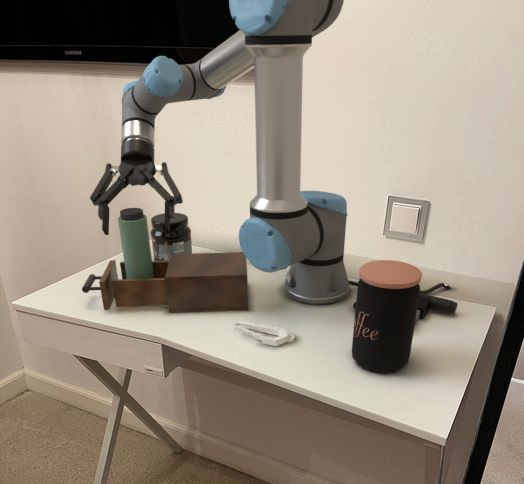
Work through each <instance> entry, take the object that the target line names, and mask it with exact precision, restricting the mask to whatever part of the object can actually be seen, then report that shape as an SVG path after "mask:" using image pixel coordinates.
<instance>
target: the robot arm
mask: <svg viewBox="0 0 524 484" xmlns="http://www.w3.org/2000/svg"><path fill="white" fill-rule="evenodd" d="M344 1H345V0H228V5H229V12H230V16H231V19H232V20H233V21H235V23H234V24H235V26H236V27H237V29H239V30H238V31H236V32H235V33H234V34H233V35H231V36H230V37H228V38H227V39H226V40H225V41H223V42H222V43H221V44H219V45H217V47H215V48H214V49H212V50H211V51H209V52H208V53H207V54H206V55H204V56H203V57H202V58H200V59H199V60H198V61H196V62H194V63H186V64H178V63H177V62H176V61H175V60H174V59H173V58H168V57H167V56H166V55H158V56H156V57H155V58H154V59H152V61H151V62H150V63H149V64H148V65H147V66H146V67H145V69H144V71H143V72H142V74H141V76H140V77H139V78H138V80H133V81H131V82H128V83H127V84H125V86H124V87H123V89H122V96H121V134H120V135H121V136H120V137H121V138H120V144H121V146H120V163H119V165H118V166H117V165H112V164H111V163H109V162H107V163H106V165H105V170H104V173H103V174H102V176H101V178H100V180H99V181H98V183H97V185H96V186H95V188H94V190H93V191H92V193H91V195H90V196H89V199H90V201H91V203H92V205H93V206H97V207H98V209H97V215H98V218H99V220H100V221H102V223H101V230H102V232H103V234H104V235H105V236H109V234H110V233H109V232H110V207H109V204H111V202H112V201H113V200H114V199H115V198H117V196H118V195H119V194H120V193H122V191H123V190H124V189H127V187H128V186H129V185H130V186H131V187H135V186H146V185H147V184H148V185H149V186H150V187H151V189H153V190H154V191H155V192H156V193H157V194H158V195H159V196H160V197H161V198H162V199H163V200H164V213H165V231H166V234H170V218H174V216H175V213H176V212H175V207H176V206H177V205H178V204H179V205H181V204H182V203H184V201H183V196H182V194H181V192H180V190H179V189H178V186H177V185H176V183H175V181H174V179H173V178H172V176H171V174H170V172H169V168H168V163H167V162H165V161H164V162H162V163H161V164H159V165H155V145H156V144H155V141H156V137H155V136H156V135H155V134H156V133H155V132H156V130H155V127H156V126H155V125H156V117H157V116H158V115H159V114H160V113H161V112H162V110H164V108H165V107H166V106H167V105H168V104H173V103H180V102H189V101H198V100H211V99H214V98H217V97H218V98H219V97H220V96H222V95H223V94H224V93H225V90H226V89H227V86H228V85H230V84H231V83H233V82H234V81H236V80H237V79H239V78H241V77H243V76H244V75H246V74H248V73H249V72H250V71H252V70H253V72H254V73H253V75H254V76H253V77H254V117H255V118H254V120H255V122H254V123H255V165H256V167H255V168H256V195H255V196H254V197H253V198H252V199H250V201H249V218H246V219H245V220H244V221H243V222H242V225H240V226H239V230H238V242H239V246H240V249H241V251H242V252H243V253H244V255H245V257H246V260H248V262H249V263H250V265H252V266H253V267H254V268H255V269H257V270H259V271H261V272H263V273H275V272H277V271H282V270H286V269H288V268H289V269H288V270H287V271H286V273H285V280H284V293H285V295H287V297H288V298H290V299H291V300H294V301H296V302H299V303H302V304H307V305H329V304H334V303H338V302H340V301H343V300H345V298H347V297H348V295H349V293H350V286H353V287H357V285H358V282H357V281H354V280H349V277H348V274H347V269H346V266H345V263H344V262H345V261H344V258H345V257H344V255H345V243H346V242H345V241H346V229H347V227H346V226H347V217H348V201H347V200H346V198H345V197H344V196H342V195H340V194H337V193H335V192H334V193H333V192H328V191H320V190H301V179H302V178H301V177H302V175H301V172H302V126H303V125H302V119H303V74H304V73H303V71H304V70H303V69H304V68H303V67H304V56H305V54H306V53H307V52H308V50H309V49H310V48H311V47H312V46H313V38H314V37H317V36H318V35H319V34H321V33H322V32H325V31H326V30H327V29H328V28H330V27H331V26H332V25H333V24H334V23H335V22H336V21H337V19H338V17H339V15H340V14H341V12H342V9H343V6H344ZM118 173H119V175H118V176H117V174H118ZM156 173H159V175H160V176H162V177H163V178H164V181H165V183H166V184H167V186H168V188H169V190H170V191H171V194H170V192H169V191H168V190H167V189H166V188H164V186H163V185H162V184H161V183H160V182H159V181H158V180H157V179H156V177H155V175H156ZM116 176H117V179H116V180H115V181H114V182H113V179H114V177H116ZM112 182H113V183H112ZM111 183H112V184H111ZM110 185H111V186H110ZM109 186H110V187H109ZM444 283H445V282H440V283H437V284H435V285H434V286H432V287H430V288H428V289H424V290H420V293H422V294H426V295H430V294H431V293H433V292H435V291H437V290H438V289H440V288H444V289H446V290H452V286H450V285H449V284H448V286H445V285H444Z"/></svg>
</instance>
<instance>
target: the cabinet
mask: <svg viewBox="0 0 524 484" xmlns="http://www.w3.org/2000/svg"><path fill="white" fill-rule="evenodd" d="M165 282H166V291H167V300H168V306H167V307H168V313H169V314H177V313H211V312H238V311H239V312H241V311H249V289H248V288H249V285H248V282H249V281H248V264H247V258H246V257H245V255H244V253H243V251H242V252H241V251H236V252H235V251H234V252H233V251H232V252H230V251H229V252H199V253H198V252H197V253H195V252H193V253H192V254H171V256H170V260H169V264H168V268H167V272H166V275H165Z"/></svg>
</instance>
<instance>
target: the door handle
mask: <svg viewBox="0 0 524 484" xmlns="http://www.w3.org/2000/svg"><path fill="white" fill-rule="evenodd" d="M352 306H353V308H354V309H355V308H356V301H354V303H353V305H352ZM457 309H458V302H457V301H454V300H452V299H447V298H444V297H439V296H435V295H430V294H422V293H420V294H419V300H418V307H417V313H416V320H415V324H416V323H417V321H418V320H421V321H423V320H424V318H425V317H426V315H427V314H428V313H429V312H430V310H431V311H435V312H439V313H443V314H447V315H450V314H452V315H454V314H455V313H456V311H457Z"/></svg>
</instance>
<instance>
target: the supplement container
mask: <svg viewBox="0 0 524 484" xmlns="http://www.w3.org/2000/svg"><path fill="white" fill-rule="evenodd" d="M150 225H151V230H150V232H149V233H150V237H151V243H152V253H153V254H152V255H153V261H169V260H170V256H171V254H193V243H192V229H191V227H190V226H189V216H187V214H184V213H182V212H181V213H180V212H175V216H174V218H170V234H166V231H165V212H163V213H158V214H156V215H154V216H153V217H151V219H150Z"/></svg>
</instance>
